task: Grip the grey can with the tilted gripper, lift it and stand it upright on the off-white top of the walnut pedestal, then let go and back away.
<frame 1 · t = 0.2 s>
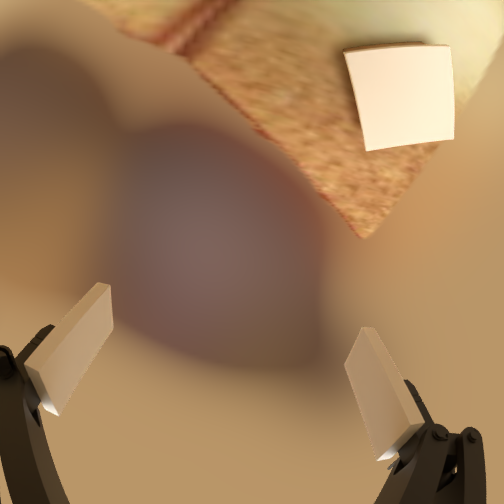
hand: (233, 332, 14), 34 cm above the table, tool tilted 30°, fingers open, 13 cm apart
pedestal: (390, 81, 31), on the table
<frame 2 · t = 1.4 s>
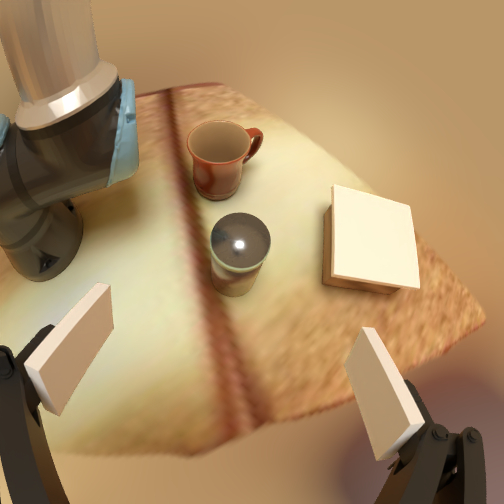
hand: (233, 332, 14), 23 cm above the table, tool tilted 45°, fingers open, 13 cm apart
grey can: (233, 276, 39), on the table
mug: (225, 181, 46), on the table
pedestal: (357, 254, 43), on the table
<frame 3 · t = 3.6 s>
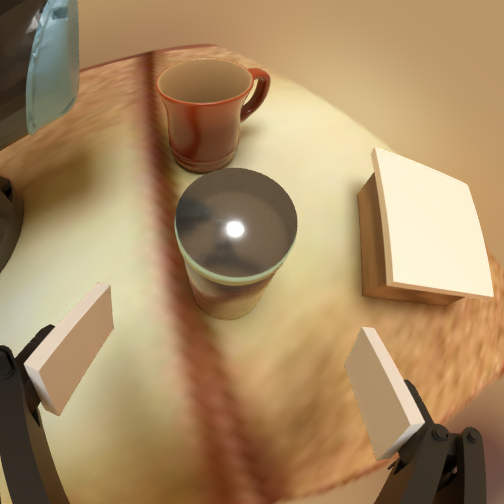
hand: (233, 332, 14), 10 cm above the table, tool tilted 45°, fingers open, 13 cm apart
grey can: (226, 286, 25), on the table
mug: (216, 148, 31), on the table
pedestal: (405, 250, 29), on the table
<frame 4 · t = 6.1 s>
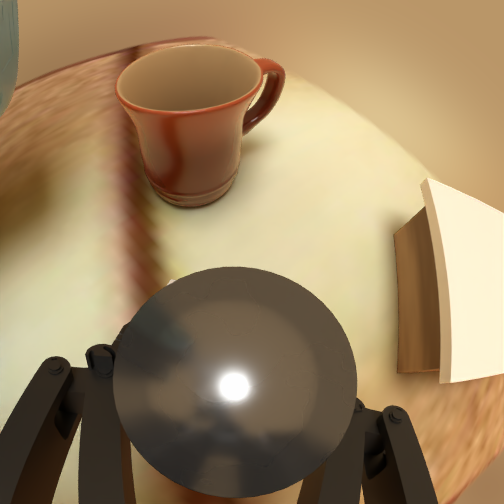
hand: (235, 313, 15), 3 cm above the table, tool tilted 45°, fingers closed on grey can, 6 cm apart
grey can: (223, 376, 17), on the table, touching gripper
mug: (209, 170, 23), on the table
pedestal: (446, 305, 21), on the table
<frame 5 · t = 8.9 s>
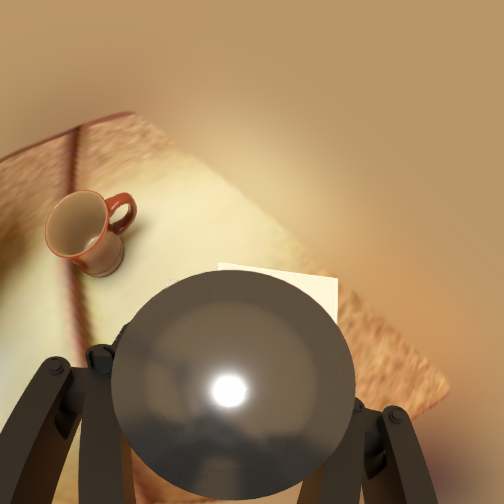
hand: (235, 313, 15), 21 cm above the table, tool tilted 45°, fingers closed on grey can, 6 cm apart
grey can: (222, 377, 17), point 18 cm above the table, touching gripper
mug: (112, 249, 37), on the table
pedestal: (264, 338, 35), on the table
when the fingers open (11 cm above the table, at t = 11.8 s): grey can stays where it is, resting on pedestal.
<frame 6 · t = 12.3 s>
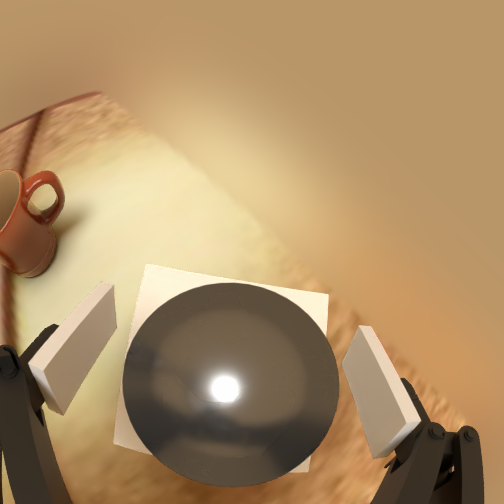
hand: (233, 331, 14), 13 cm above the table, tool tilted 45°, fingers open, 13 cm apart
grey can: (222, 377, 18), point 7 cm above the table, touching pedestal
mug: (46, 245, 27), on the table
pedestal: (221, 374, 24), on the table
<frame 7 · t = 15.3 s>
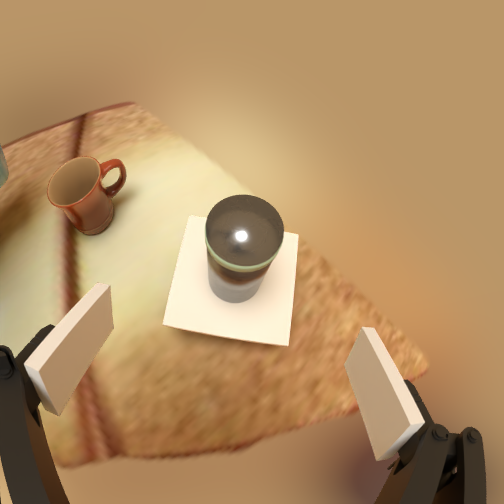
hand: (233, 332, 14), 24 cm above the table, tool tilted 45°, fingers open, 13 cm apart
grey can: (234, 277, 32), point 7 cm above the table, touching pedestal
mug: (104, 213, 41), on the table
pedestal: (231, 293, 39), on the table
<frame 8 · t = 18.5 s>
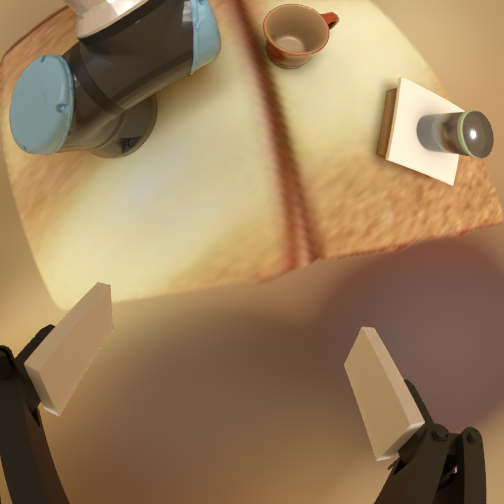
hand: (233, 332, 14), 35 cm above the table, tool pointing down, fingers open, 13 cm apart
grey can: (430, 133, 34), point 7 cm above the table, touching pedestal
mug: (296, 48, 37), on the table
pedestal: (410, 132, 41), on the table
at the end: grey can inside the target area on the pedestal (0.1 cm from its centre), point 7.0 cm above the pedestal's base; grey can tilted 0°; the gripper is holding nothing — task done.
